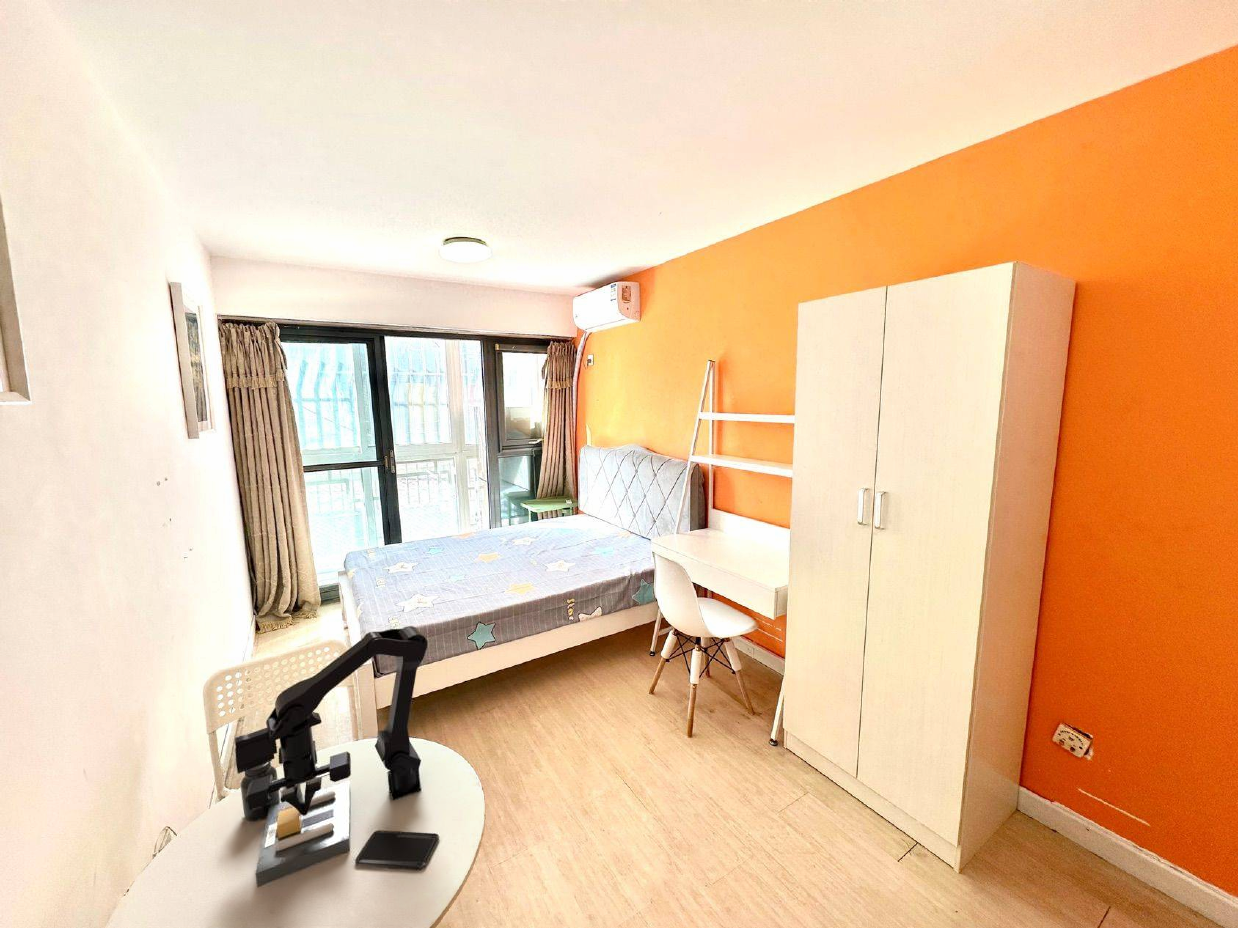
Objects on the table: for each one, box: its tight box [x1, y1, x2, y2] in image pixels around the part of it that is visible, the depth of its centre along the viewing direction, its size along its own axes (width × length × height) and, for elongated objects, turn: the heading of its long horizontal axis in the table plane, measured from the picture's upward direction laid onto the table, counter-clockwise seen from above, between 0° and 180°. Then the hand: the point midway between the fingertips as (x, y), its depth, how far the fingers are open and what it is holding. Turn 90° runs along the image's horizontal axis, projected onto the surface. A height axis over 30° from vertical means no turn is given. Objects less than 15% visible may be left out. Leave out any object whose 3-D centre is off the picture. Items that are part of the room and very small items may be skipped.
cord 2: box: [281, 791, 336, 811], centre depth 113 cm, size 11×2×2 cm, turn 118°
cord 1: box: [275, 823, 334, 851], centre depth 104 cm, size 11×2×2 cm, turn 118°
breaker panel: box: [255, 780, 352, 888], centre depth 109 cm, size 16×18×3 cm
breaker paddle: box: [277, 807, 303, 838], centre depth 107 cm, size 4×4×3 cm
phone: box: [354, 829, 440, 871], centre depth 104 cm, size 8×1×15 cm
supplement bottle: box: [240, 761, 281, 822], centre depth 115 cm, size 7×7×12 cm
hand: (305, 813), depth 108 cm, fingers closed
